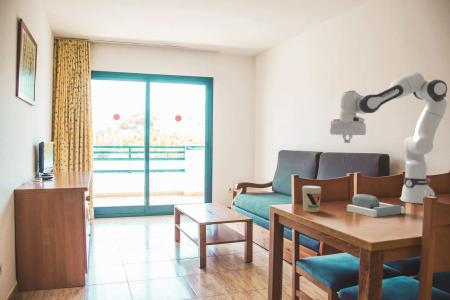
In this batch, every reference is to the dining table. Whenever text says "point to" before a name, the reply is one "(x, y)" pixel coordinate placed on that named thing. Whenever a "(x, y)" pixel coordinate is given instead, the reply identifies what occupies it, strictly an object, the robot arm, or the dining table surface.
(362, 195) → the grey-green rounded block
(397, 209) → the notched board
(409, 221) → the dining table surface
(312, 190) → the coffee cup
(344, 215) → the dining table surface
